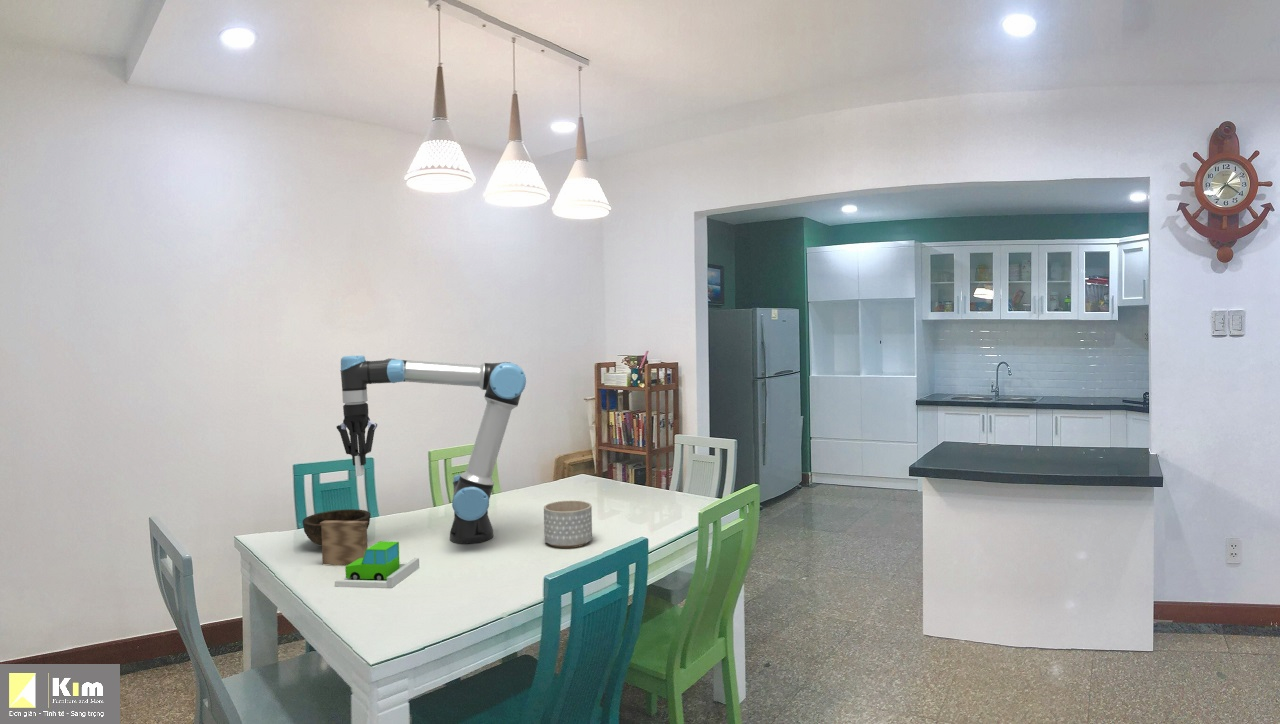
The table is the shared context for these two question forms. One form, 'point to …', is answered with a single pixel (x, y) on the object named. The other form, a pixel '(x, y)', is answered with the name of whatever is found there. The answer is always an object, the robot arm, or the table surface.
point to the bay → (391, 580)
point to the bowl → (313, 521)
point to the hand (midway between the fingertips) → (360, 475)
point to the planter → (567, 523)
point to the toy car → (375, 562)
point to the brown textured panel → (343, 541)
